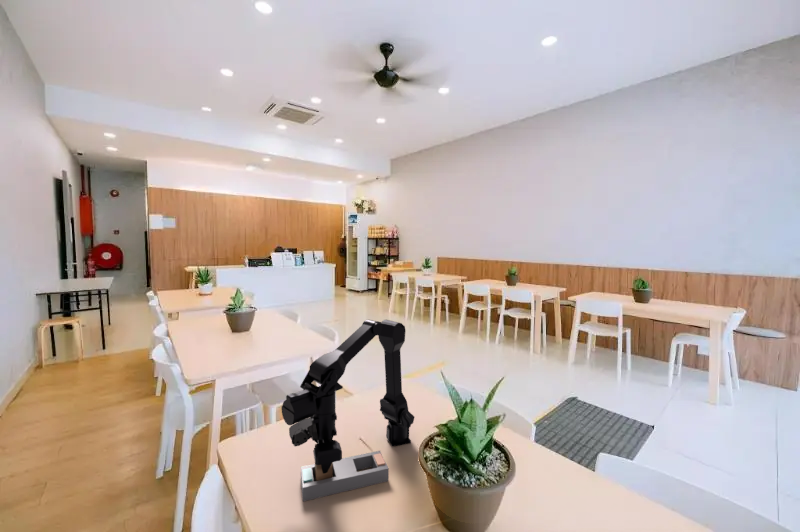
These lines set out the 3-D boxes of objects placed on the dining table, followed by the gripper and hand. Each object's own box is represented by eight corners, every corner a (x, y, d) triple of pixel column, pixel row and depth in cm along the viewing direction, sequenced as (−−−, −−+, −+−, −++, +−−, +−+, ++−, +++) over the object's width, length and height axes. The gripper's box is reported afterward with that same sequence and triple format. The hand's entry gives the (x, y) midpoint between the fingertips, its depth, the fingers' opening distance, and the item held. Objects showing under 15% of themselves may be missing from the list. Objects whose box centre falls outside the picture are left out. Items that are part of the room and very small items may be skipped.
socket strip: (379, 462, 96) (380, 449, 95) (388, 480, 88) (388, 467, 88) (300, 479, 88) (300, 465, 88) (302, 501, 80) (302, 486, 80)
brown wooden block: (330, 470, 89) (330, 441, 88) (332, 480, 85) (332, 450, 84) (314, 473, 87) (314, 444, 87) (316, 483, 83) (316, 453, 83)
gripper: (290, 397, 91) (290, 452, 92) (292, 435, 73) (292, 501, 74) (330, 392, 95) (330, 444, 96) (342, 426, 77) (342, 489, 78)
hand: (323, 467), depth 86 cm, fingers closed on brown wooden block, 4 cm apart
